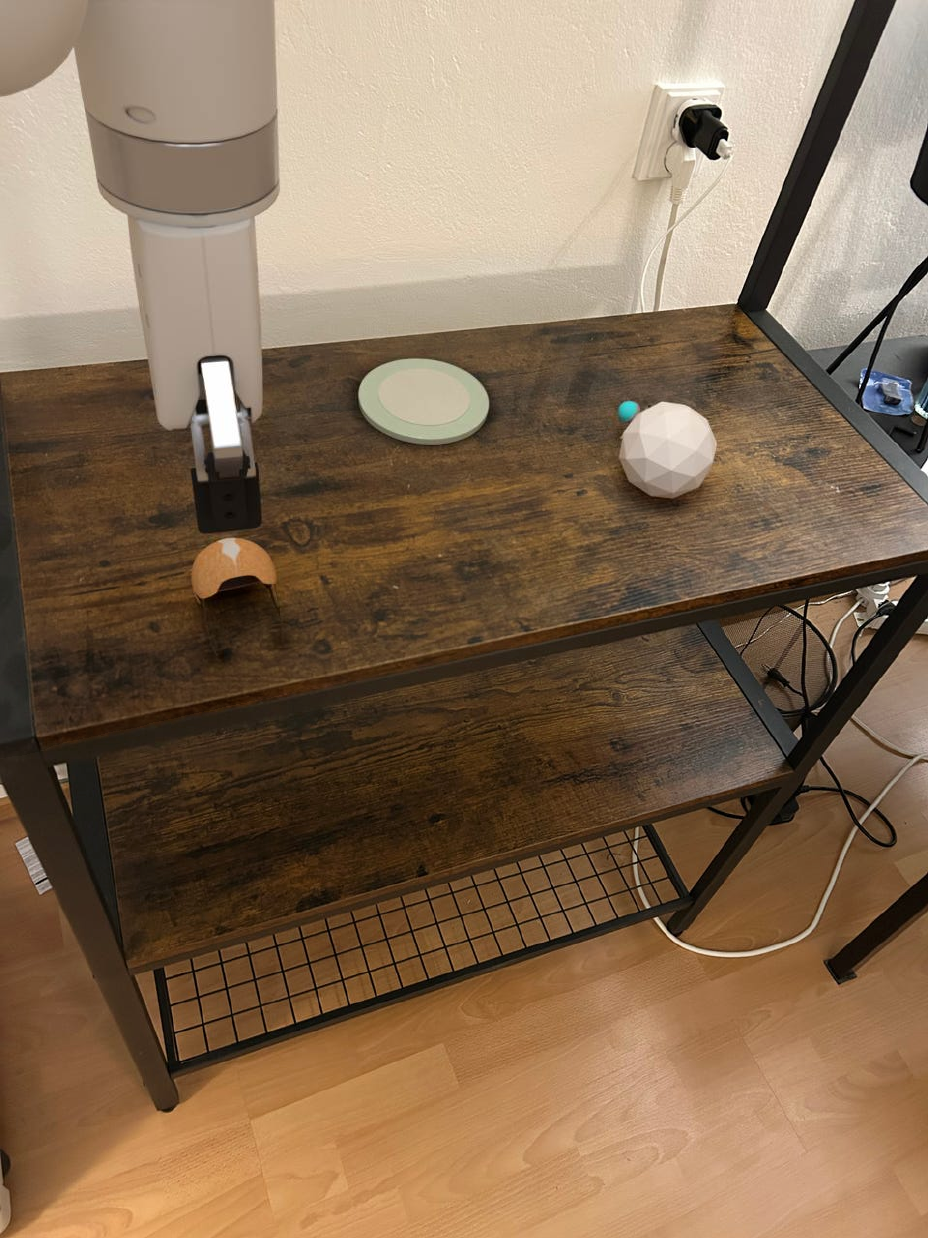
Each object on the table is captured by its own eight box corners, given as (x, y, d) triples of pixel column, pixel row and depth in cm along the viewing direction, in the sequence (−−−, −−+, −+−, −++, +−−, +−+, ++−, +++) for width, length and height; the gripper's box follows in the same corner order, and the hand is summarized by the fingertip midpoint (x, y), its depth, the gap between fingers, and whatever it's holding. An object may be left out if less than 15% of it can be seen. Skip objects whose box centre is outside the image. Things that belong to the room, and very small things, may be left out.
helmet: (284, 644, 73) (260, 540, 73) (296, 637, 66) (270, 524, 67) (206, 661, 71) (181, 555, 71) (211, 656, 65) (184, 539, 65)
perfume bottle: (634, 497, 78) (564, 421, 86) (690, 528, 84) (619, 455, 92) (699, 419, 75) (621, 349, 83) (752, 457, 81) (674, 387, 89)
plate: (383, 455, 84) (383, 447, 83) (341, 373, 91) (341, 366, 90) (509, 433, 88) (510, 426, 87) (459, 356, 94) (460, 349, 94)
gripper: (83, 64, 44) (136, 376, 57) (102, 263, 34) (161, 590, 47) (249, 66, 46) (264, 367, 59) (314, 254, 36) (315, 570, 49)
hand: (218, 465), depth 53 cm, fingers open, 9 cm apart
